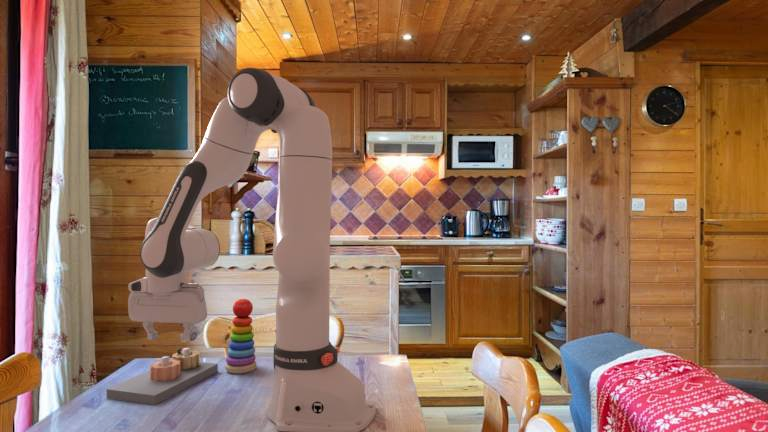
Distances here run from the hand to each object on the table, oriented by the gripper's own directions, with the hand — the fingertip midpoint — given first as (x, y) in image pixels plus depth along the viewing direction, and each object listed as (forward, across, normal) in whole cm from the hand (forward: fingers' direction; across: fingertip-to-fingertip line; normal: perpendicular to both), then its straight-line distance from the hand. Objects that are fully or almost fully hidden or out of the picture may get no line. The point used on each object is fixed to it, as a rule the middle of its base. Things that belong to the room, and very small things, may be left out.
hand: (168, 340), depth 111 cm
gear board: (+11, +1, 0) cm, 11 cm away
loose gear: (+9, +1, 0) cm, 9 cm away
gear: (+9, +1, -7) cm, 11 cm away
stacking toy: (+12, -10, -14) cm, 21 cm away
